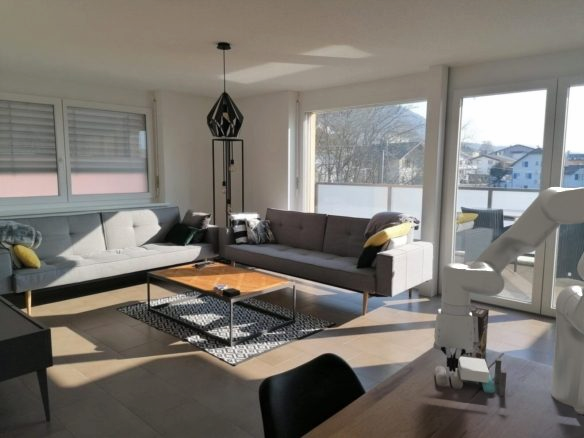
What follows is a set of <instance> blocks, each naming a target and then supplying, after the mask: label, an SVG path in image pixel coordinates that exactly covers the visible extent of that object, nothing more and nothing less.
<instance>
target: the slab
mask: <svg viewBox="0 0 584 438" xmlns="http://www.w3.org/2000/svg"><path fill="white" fill-rule="evenodd" d="M487 365H488V364H487V363H486V360H485V358H482V359H479V358H470V357H460V358H459V359H458V369H459V373H460V377H461V379H462V381H471V382H480V383H481V382H486V383H489V373H490V371H489V369H488V366H487Z"/></svg>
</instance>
